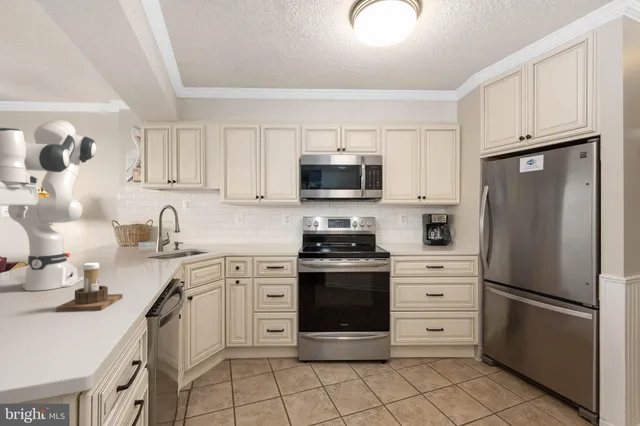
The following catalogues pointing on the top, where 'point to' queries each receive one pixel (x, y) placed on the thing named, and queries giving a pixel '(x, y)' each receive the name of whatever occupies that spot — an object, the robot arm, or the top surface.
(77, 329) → the top surface
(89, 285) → the sprinkles bottle
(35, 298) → the top surface
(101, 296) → the walnut collar block
